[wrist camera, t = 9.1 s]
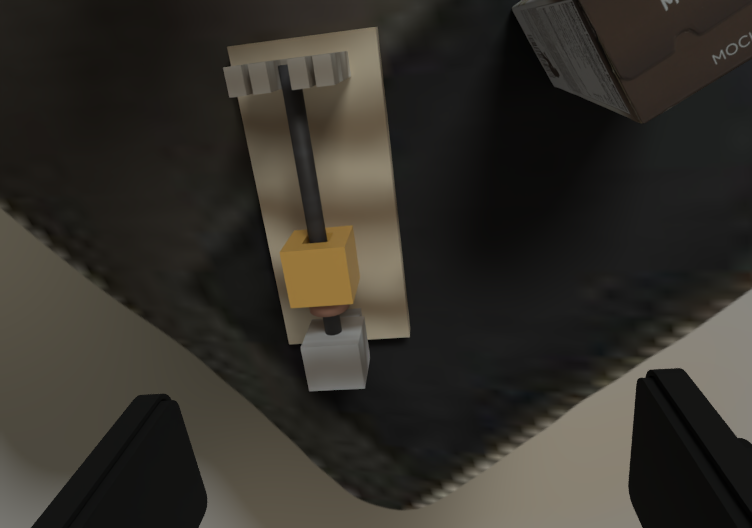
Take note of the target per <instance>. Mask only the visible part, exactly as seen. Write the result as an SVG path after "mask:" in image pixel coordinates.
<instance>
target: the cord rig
mask: <svg viewBox="0 0 752 528" xmlns="http://www.w3.org/2000/svg"><path fill="white" fill-rule="evenodd" d="M227 49H228V53H229V58H230V63H231V66H229V67H223V70H224V75H225V79H226V84H227V89H228V93H229V98H231V97H238V101H239V106H240V111H241V116H242V120H243V125H244V130H245V135H246V140H247V144H248V149H249V154H250V159H251V164H252V168H253V173H254V178H255V183H256V187H257V192H258V197H259V202H260V207H261V211H262V216H263V221H264V226H265V231H266V235H267V240H268V245H269V250H270V254H271V259H272V264H273V269H274V274H275V278H276V283H277V288H278V293H279V298H280V302H281V307H282V312H283V317H284V321H285V326H286V331H287V336H288V341H289V344H302V345H301V353H302V358H303V363H304V368H305V373H306V378H307V383H308V388H309V391H325V390H345V389H365V385H366V379H367V373H368V367H369V361H370V353H369V346H368V340H370V339H386V338H403V337H410V322H409V313H408V303H407V294H406V285H405V276H404V266H403V257H402V248H401V239H400V229H399V220H398V211H397V202H396V193H395V183H394V174H393V165H392V156H391V146H390V137H389V128H388V119H387V109H386V100H385V91H384V82H383V72H382V63H381V54H380V45H379V36H378V27H371V28H364V29H356V30H349V31H341V32H334V33H326V34H319V35H311V36H304V37H296V38H289V39H281V40H274V41H266V42H259V43H251V44H244V45H236V46H229V47H227ZM350 225H353V230H354V237H355V244H356V251H357V258H358V265H359V272H360V280H359V284H358V288H357V292H356V295H355V299H354V303H353V304H347V305H332V306H318V307H303V308H291V307H290V303H289V298H288V293H287V288H286V283H285V278H284V273H283V268H282V263H281V258H280V253H279V252H280V251H281V249H282V248H283V246H284V245H285V243H286V242H287V240H288V239H289V237H290V236H291V234H292V233H293V231H294V230H305V229H307V232H308V238H309V243H321V242H328V241H327V235H326V229H325V228H328V227H339V226H350Z"/></svg>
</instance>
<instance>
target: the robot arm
mask: <svg viewBox="0 0 752 528" xmlns="http://www.w3.org/2000/svg"><path fill="white" fill-rule="evenodd" d="M628 487H629V494H630V499H631V502H632V505H633V507H634V509H635V512H636V514H637V516H638V518H639V521H640V523H641V525H642V527H643V528H752V444H751V443H750V442H749V441H747V440H745V439H743V438H737V437H736V436H735V434H734V433H733V432H732V431H731V429H730V428H729V427H728V425H727V424H726V423H725V421H724V420H723V419H722V418H721V416H720V415H719V414H718V413H717V411H716V410H715V409H714V407H713V406H712V405H711V404H710V402H709V401H708V400H707V398H706V397H705V396H704V395H703V393H702V392H701V391H700V390H699V388H698V387H697V386H696V384H695V383H694V382H693V381H692V379H691V378H690V377H689V376H688V374H687V373H686V372H685V371H684V370H683V369H680V368H676V369H656V370H649V371H648V372H647V374H646V378H639V379H638V380H637V386H636V399H635V409H634V421H633V434H632V446H631V459H630V472H629V485H628ZM206 508H207V494H206V491H205V488H204V484H203V481H202V478H201V475H200V471H199V468H198V465H197V462H196V459H195V456H194V452H193V449H192V446H191V443H190V440H189V436H188V433H187V430H186V427H185V424H184V421H183V417H182V414H181V411H180V408H179V405H178V403H177V402H176V401H174V400H171V398H170V397H169V396H168V395H166V394H152V395H151V394H150V395H139V396H137V397H136V398H135V399H134V400H133V402H131V404H130V405H129V406H128V407H127V409H126V410H125V411H124V412H123V414H122V415H121V416H120V418H119V419H118V420H117V421H116V422H115V424H114V425H113V426H112V427H111V429H110V430H109V431H108V432H107V434H106V435H105V436H104V437H103V439H102V440H101V441H100V442H99V444H98V445H97V446H96V447H95V449H94V450H93V451H92V452H91V454H90V455H89V456H88V457H87V459H86V460H85V461H84V462H83V464H82V465H81V466H80V467H79V468H78V470H77V471H76V472H75V474H74V475H73V476H72V477H71V479H70V480H69V481H68V482H67V484H66V485H65V486H64V487H63V488H62V490H61V491H60V492H59V493H58V495H57V496H56V497H55V498H54V500H53V501H52V502H51V504H50V505H49V506H48V507H47V508H46V510H45V511H44V512H43V514H42V515H41V516H40V517H39V518H38V520H37V521H36V522H35V523H34V525H33V526H32V527H31V528H199V525H200V523H201V521H202V519H203V516H204V514H205V512H206Z"/></svg>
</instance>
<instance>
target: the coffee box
mask: <svg viewBox="0 0 752 528" xmlns="http://www.w3.org/2000/svg"><path fill="white" fill-rule="evenodd" d="M512 10H513V13H514V15H515V16H516V18H517V20H518V22H519V24H520V26H521V27H522V29H523V31H524V33H525V35H526V37H527V39H528V40H529V42H530V44H531V46H532V48H533V50H534V51H535V53H536V55H537V57H538V59H539V61H540V62H541V64H542V66H543V68H544V70H545V71H546V73H547V75H548V77H549V79H550V80H551V82H552V84H553V86H554V87H557V88H560V89H562V90H565V91H567V92H570V93H572V94H575V95H577V96H580V97H582V98H584V99H586V100H589V101H591V102H593V103H596V104H598V105H600V106H603V107H605V108H607V109H610V110H612V111H614V112H616V113H619V114H621V115H623V116H625V117H628V118H630V119H632V120H634V121H636V122H638V123H643V124H644V123H646V122H648V121H650V120H651V119H653V118H654V117H656V116H658V115H660V114H662V113H663V112H665V111H667V110H668V109H670V108H671V107H673V106H675V105H676V104H678V103H680V102H681V101H683V100H684V99H686V98H688V97H689V96H691V95H693V94H694V93H696V92H698V91H699V90H701V89H703V88H704V87H706V86H708V85H709V84H711V83H712V82H714V81H716V80H717V79H719V78H721V77H722V76H724V75H726V74H727V73H729V72H730V71H732V70H734V69H735V68H737V67H739V66H740V65H742V64H744V63H745V62H747V61H749V60H750V59H752V0H521V1H520V2H519V3H517V4H516V5H514V6H513V7H512Z"/></svg>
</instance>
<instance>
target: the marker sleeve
mask: <svg viewBox="0 0 752 528" xmlns="http://www.w3.org/2000/svg"><path fill="white" fill-rule="evenodd" d="M325 229H326V235H327V241H328V242H321V243H309V238H308V232H307V229H305V230H294V231H293V233H292V234H291V236H290V237H289V239H288V240H287V242H286V243H285V245H284V246H283V248H282V249H281V251H280V252H279V253H280V258H281V263H282V268H283V273H284V278H285V283H286V288H287V293H288V298H289V303H290V307H291V308H303V307H318V306H332V305H347V304H353V303H354V299H355V295H356V292H357V288H358V284H359V280H360V272H359V265H358V258H357V251H356V244H355V237H354V230H353V225H350V226H339V227H328V228H325Z"/></svg>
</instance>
